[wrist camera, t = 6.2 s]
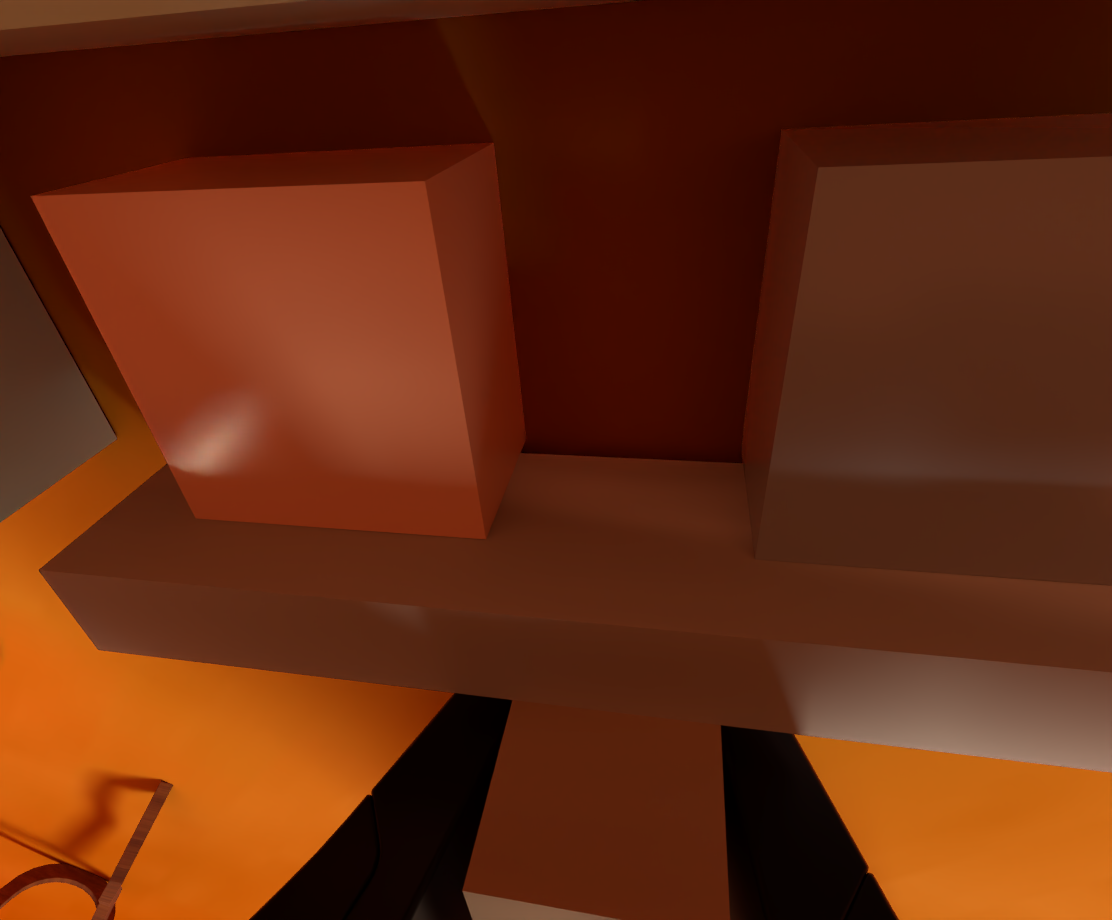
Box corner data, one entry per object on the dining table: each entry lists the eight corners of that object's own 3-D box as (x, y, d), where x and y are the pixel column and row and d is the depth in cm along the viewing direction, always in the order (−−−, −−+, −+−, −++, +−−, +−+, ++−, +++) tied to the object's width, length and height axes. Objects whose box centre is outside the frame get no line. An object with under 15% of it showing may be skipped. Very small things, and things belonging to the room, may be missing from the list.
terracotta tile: (529, 430, 9) (486, 539, 7) (293, 421, 10) (196, 518, 8) (499, 140, 7) (425, 181, 5) (199, 153, 8) (31, 197, 6)
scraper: (970, 845, 13) (1103, 1228, 9) (345, 754, 15) (221, 1018, 11) (1217, 484, 7) (1857, 1033, 3) (197, 438, 10) (-142, 718, 6)
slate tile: (1052, 450, 8) (1172, 590, 6) (739, 438, 9) (754, 559, 7) (1215, 103, 6) (1492, 142, 4) (778, 125, 7) (818, 168, 5)
